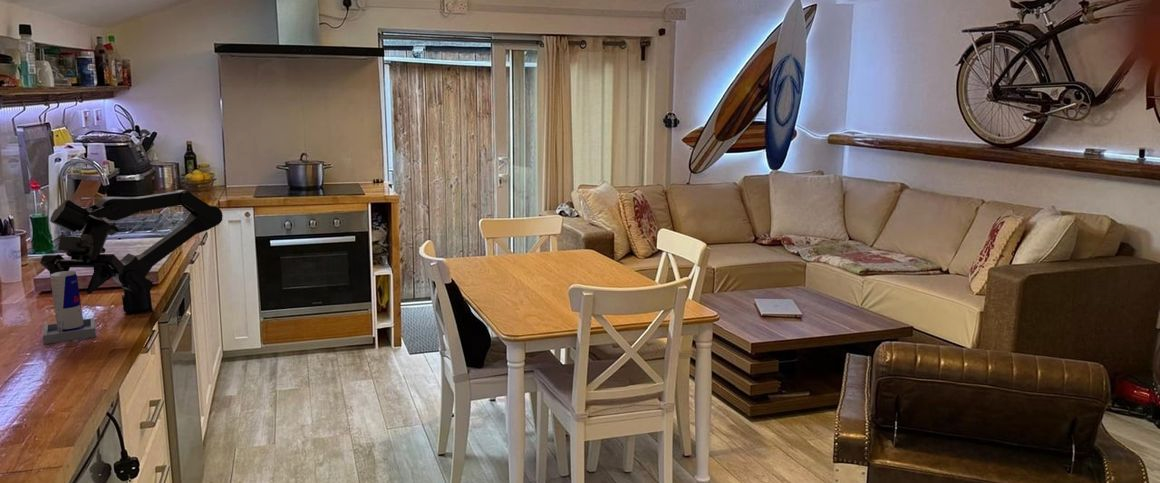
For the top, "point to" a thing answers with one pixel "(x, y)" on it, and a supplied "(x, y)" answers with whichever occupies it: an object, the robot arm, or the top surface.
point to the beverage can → (67, 301)
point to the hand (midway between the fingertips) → (70, 293)
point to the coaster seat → (68, 332)
